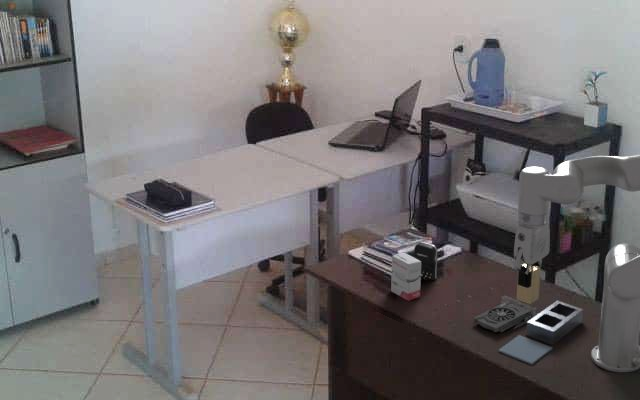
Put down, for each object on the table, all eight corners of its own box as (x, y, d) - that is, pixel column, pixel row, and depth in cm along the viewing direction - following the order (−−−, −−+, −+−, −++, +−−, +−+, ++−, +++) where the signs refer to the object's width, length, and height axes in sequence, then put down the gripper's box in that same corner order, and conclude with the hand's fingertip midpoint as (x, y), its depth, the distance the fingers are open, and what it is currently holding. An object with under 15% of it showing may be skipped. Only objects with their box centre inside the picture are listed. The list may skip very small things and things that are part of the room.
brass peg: (538, 298, 222) (540, 266, 219) (530, 304, 220) (532, 272, 217) (524, 293, 225) (526, 262, 222) (516, 299, 222) (518, 267, 219)
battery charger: (412, 277, 270) (412, 244, 266) (418, 273, 273) (419, 239, 269) (431, 283, 266) (431, 249, 262) (437, 278, 269) (438, 245, 264)
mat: (552, 349, 228) (552, 347, 228) (531, 364, 221) (532, 363, 221) (518, 336, 234) (519, 335, 234) (498, 351, 228) (498, 349, 228)
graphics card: (504, 293, 252) (537, 306, 243) (504, 304, 253) (537, 318, 244) (464, 312, 242) (497, 327, 233) (464, 324, 244) (497, 339, 235)
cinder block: (582, 322, 241) (583, 309, 239) (552, 344, 230) (553, 331, 228) (556, 313, 246) (557, 300, 244) (526, 334, 235) (526, 322, 234)
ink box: (421, 296, 258) (422, 260, 254) (408, 301, 255) (408, 265, 251) (403, 286, 265) (403, 250, 260) (390, 291, 262) (390, 255, 258)
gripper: (528, 230, 206) (524, 299, 213) (563, 210, 217) (558, 275, 224) (501, 223, 211) (498, 290, 218) (537, 203, 222) (533, 267, 229)
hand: (528, 282), depth 221 cm, fingers closed on brass peg, 4 cm apart
